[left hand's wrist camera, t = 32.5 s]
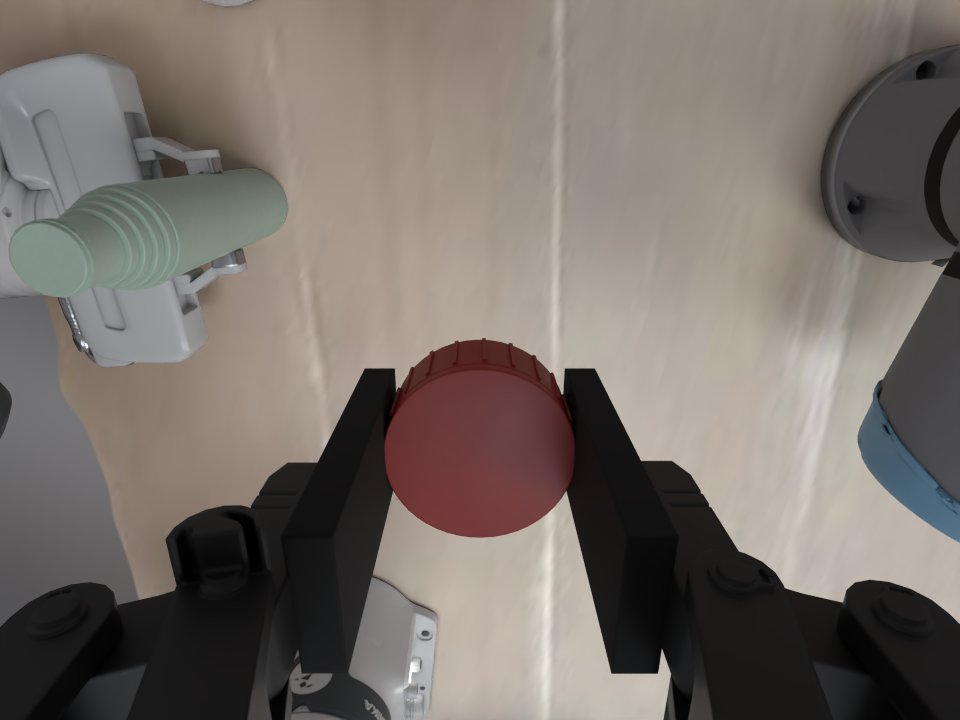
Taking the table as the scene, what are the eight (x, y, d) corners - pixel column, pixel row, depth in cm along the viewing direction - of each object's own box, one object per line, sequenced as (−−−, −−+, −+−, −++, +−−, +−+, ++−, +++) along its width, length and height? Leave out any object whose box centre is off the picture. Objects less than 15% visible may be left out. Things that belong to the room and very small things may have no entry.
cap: (358, 393, 14) (340, 429, 13) (510, 302, 14) (514, 328, 12) (453, 517, 16) (450, 567, 14) (596, 443, 15) (613, 486, 13)
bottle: (280, 165, 44) (89, 190, 23) (293, 234, 46) (129, 317, 25) (213, 170, 44) (-40, 200, 23) (229, 239, 46) (9, 326, 25)
